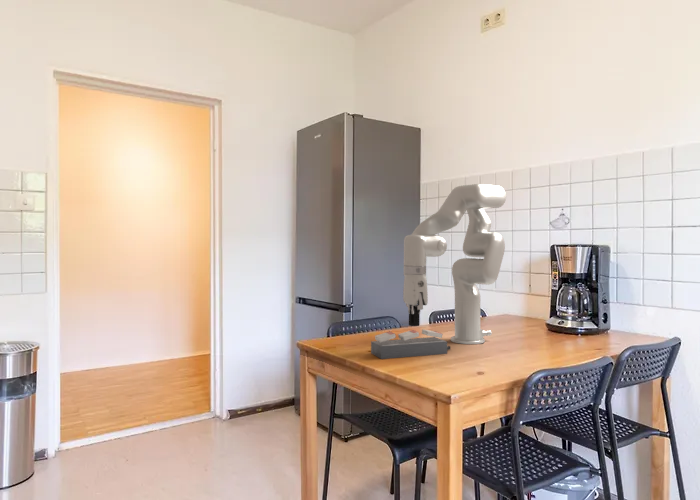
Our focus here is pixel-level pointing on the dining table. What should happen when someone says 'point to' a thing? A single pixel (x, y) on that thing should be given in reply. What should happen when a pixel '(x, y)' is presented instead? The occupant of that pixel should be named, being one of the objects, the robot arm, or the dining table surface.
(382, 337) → the rocker
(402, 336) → the rocker
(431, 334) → the plate
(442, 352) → the power strip
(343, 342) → the dining table surface
